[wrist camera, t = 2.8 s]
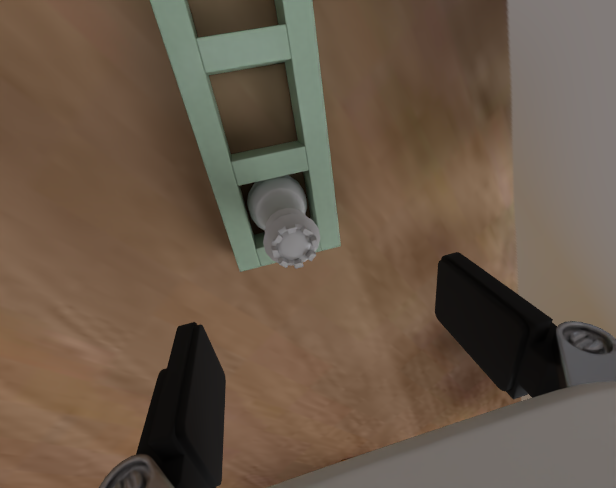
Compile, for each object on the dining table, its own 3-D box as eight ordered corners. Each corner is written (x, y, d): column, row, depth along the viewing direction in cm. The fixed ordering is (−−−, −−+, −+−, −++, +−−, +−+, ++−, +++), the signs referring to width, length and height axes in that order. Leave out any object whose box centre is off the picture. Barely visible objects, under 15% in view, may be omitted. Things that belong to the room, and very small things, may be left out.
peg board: (239, 256, 24) (240, 272, 22) (120, -112, 14) (99, -149, 12) (331, 232, 25) (341, 246, 23) (284, -127, 15) (293, -164, 13)
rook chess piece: (315, 198, 23) (350, 244, 16) (276, 237, 24) (294, 296, 17) (275, 158, 21) (296, 191, 14) (234, 202, 22) (235, 253, 15)
